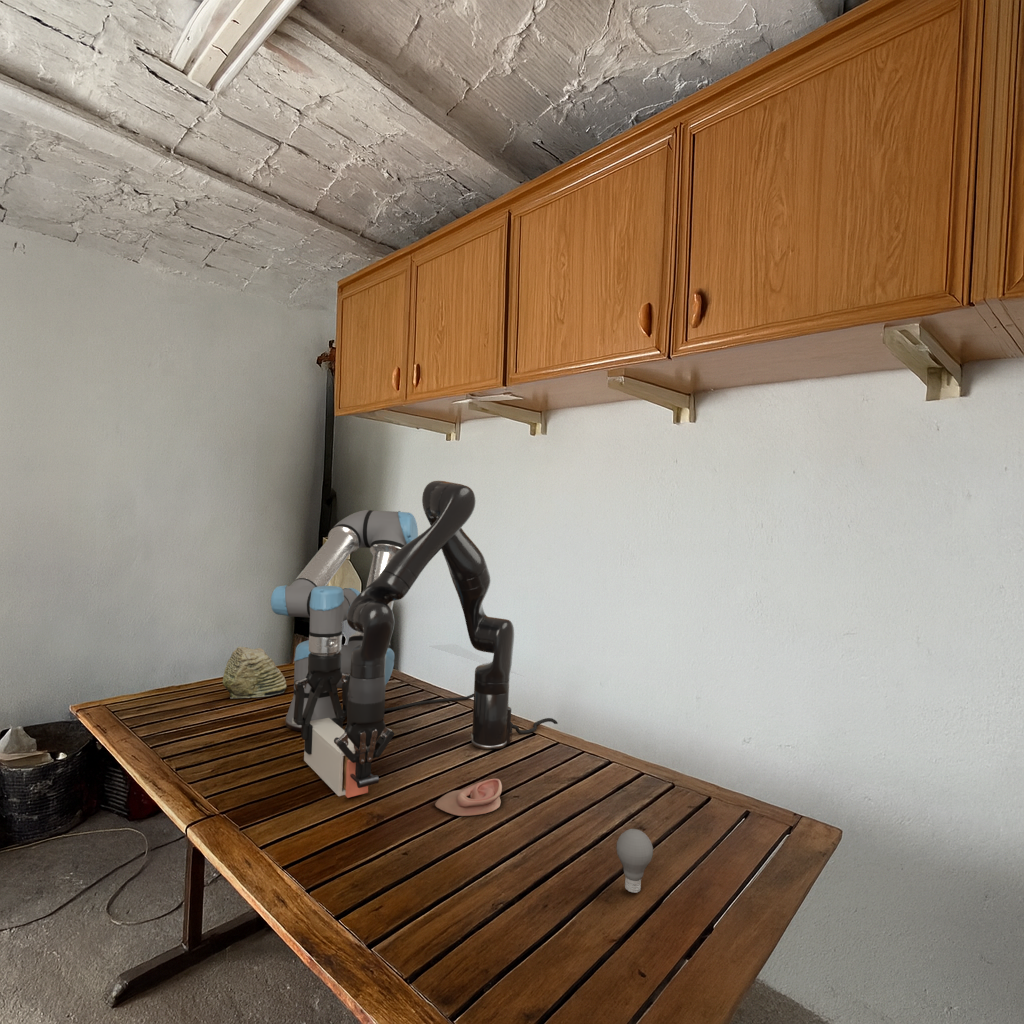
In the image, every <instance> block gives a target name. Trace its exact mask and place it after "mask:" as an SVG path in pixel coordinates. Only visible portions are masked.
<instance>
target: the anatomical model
mask: <svg viewBox="0 0 1024 1024" xmlns="http://www.w3.org/2000/svg"><path fill="white" fill-rule="evenodd" d="M502 791H503V784H502V780H500V779H499V778H491V779H490V778H489V779H485V780H483V781H480V782H477V783H474V784H471V785H470V786H467V787H465V788H463V789H457V790H452V791H449V792H447V793H446V794H443V795H442V796H441V797H440V798H438V799H436V801H435V802H434V807H436V808H437V809H439V810H441V811H443V812H445V813H447V814H451V815H453V816H458V817H469V816H479V815H484V814H487V813H491V812H494V811H496V810H497V809H499V808H500V807H501V803H502V801H501V800H502V799H501V797H500V796H501V794H502Z"/></svg>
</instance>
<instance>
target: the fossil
mask: <svg viewBox="0 0 1024 1024" xmlns="http://www.w3.org/2000/svg"><path fill="white" fill-rule="evenodd" d="M222 676H223V677H222V685H223V687H224V688H225V690H226V691H228V693H229V698H230V699H250V698H264V697H271V696H275V695H281V694H284V693H285V691H286V689H287V687H288V686H287V680H286V678H285V676H284V674H283V673H282V672H281V669H279V668H278V667H277V665H276V663H275V662H274V660H273V659H272V658H271V657H270V656H269V655H268V654H267V653H266V652H265V650H264V649H263V648H260V647H258V648H251V647H247V646H246V647H245V646H238V647H237V648H236V649H235V650H233V651H232V653H231V656H230V657H229V659H228V660H227V663H226V666H225V668H224V671H223V675H222Z"/></svg>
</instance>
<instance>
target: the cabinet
mask: <svg viewBox="0 0 1024 1024" xmlns="http://www.w3.org/2000/svg"><path fill="white" fill-rule="evenodd" d="M310 724H311V725H312V726H313V730H312V754H307V753H306V752H305V751H304V750H305V746H304V747H303V753H304V754H303V761H304V762H305V763H306V764H307V766H308V767H310V768H311V770H312V771H314V773H316V775H318V777H319V778H320V779H321V780H322V781H323V782H324V783H325V784H326V785H327V787H329V788H330V789H331V790H332V791H333V792H334V793H335V795H336V796H338V797H343V796H345V795H346V791H345V790H344V789H343V788H342V779H343V756H345V755H344V753H343V752H342V751H341V750H340V749H339V747H338V746H337V745H336V744H335V743H334V739H335V738H337V737H338V738H340V737H341V736H342V735H343V734H344V733H345V729H344V728H343V729H342V728H341V727H340V726H338V725H337V724H336V723H335V722H333V721H332V720H331V719H330V718H325V719H319V720H314V721H310ZM348 742H349V743H348V746H347V747H348V748H349V749H350V750H351V751H352V753H353V754H354V753H355V750H354V744H353V743H352V742H351V741H350V739H349V738H348Z"/></svg>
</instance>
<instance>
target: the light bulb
mask: <svg viewBox="0 0 1024 1024" xmlns="http://www.w3.org/2000/svg"><path fill="white" fill-rule="evenodd" d="M615 849H616V854H617V857H618V859H619V861H620V863H621V865H622V867H623V873H624V874H623V875H624V876H625V878H624V888H625V890H627V891H628V892H630V893H634V894H635V893H639V892H640V891H641V889H642V887H641V886H642V879H643V877H644V875H645V871H646V868H647V867H648V866H649V864H650V863H651V861H652V859H653V855H654V847H653V843H652V841H651V838H649V836H648V835H647V834H646V833H645V832H643V831H642V830H641V829H636V828H629V829H627V830H625V831H623V832H622V833H621V834H620V835H619V837H618V839H617V841H616V847H615Z"/></svg>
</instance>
